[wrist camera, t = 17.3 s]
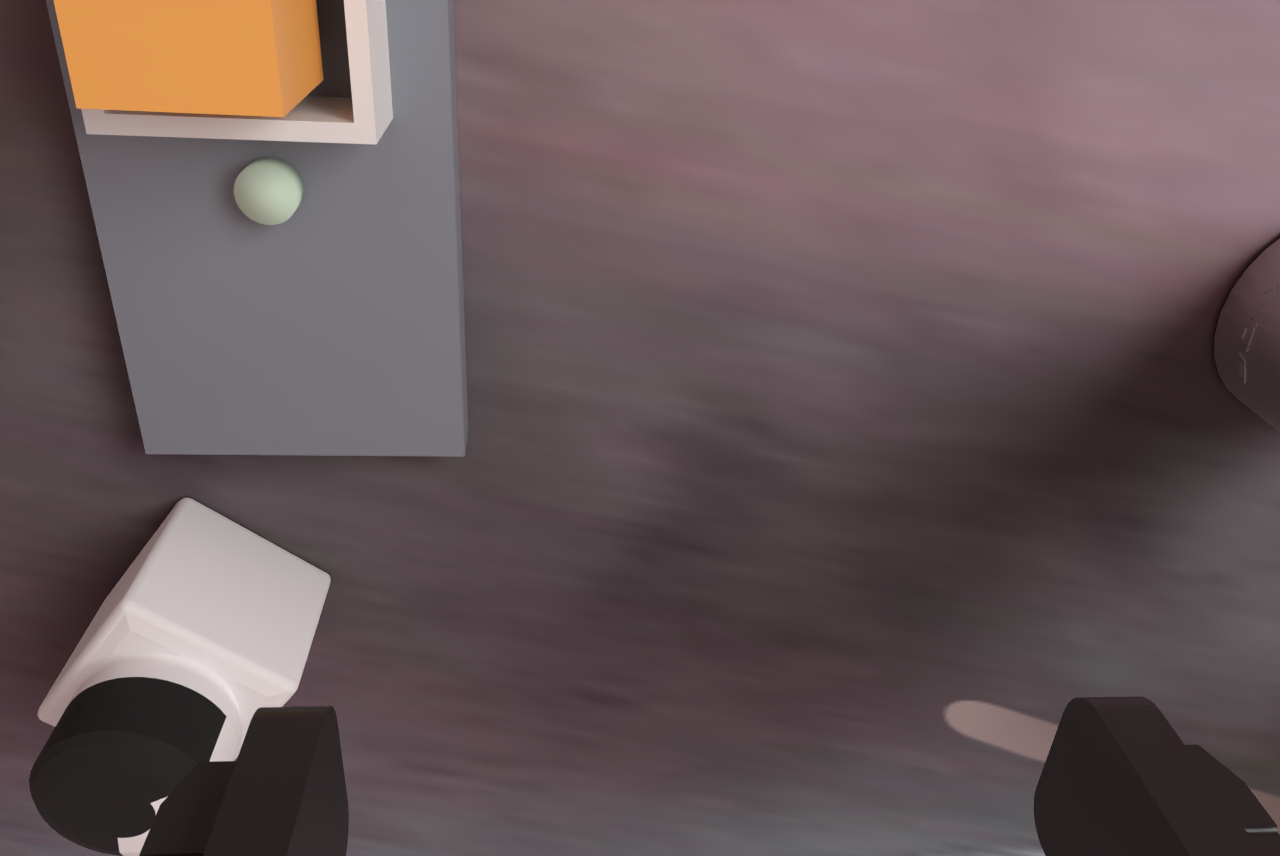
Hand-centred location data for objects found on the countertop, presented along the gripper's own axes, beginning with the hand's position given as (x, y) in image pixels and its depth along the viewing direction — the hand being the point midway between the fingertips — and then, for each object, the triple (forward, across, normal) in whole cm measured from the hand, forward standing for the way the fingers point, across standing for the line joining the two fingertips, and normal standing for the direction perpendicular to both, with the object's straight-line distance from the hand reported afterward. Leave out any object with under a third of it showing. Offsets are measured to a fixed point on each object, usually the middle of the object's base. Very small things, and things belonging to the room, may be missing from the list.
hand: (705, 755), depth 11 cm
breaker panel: (+28, +11, 0) cm, 30 cm away
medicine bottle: (+28, +16, +20) cm, 38 cm away
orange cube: (+24, +11, -5) cm, 27 cm away
